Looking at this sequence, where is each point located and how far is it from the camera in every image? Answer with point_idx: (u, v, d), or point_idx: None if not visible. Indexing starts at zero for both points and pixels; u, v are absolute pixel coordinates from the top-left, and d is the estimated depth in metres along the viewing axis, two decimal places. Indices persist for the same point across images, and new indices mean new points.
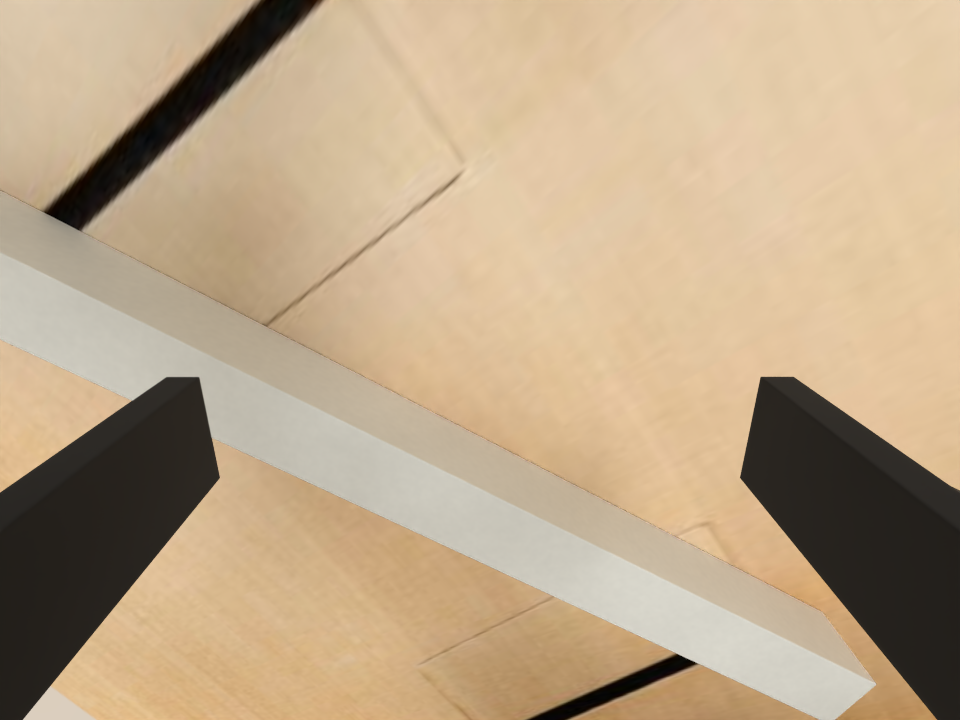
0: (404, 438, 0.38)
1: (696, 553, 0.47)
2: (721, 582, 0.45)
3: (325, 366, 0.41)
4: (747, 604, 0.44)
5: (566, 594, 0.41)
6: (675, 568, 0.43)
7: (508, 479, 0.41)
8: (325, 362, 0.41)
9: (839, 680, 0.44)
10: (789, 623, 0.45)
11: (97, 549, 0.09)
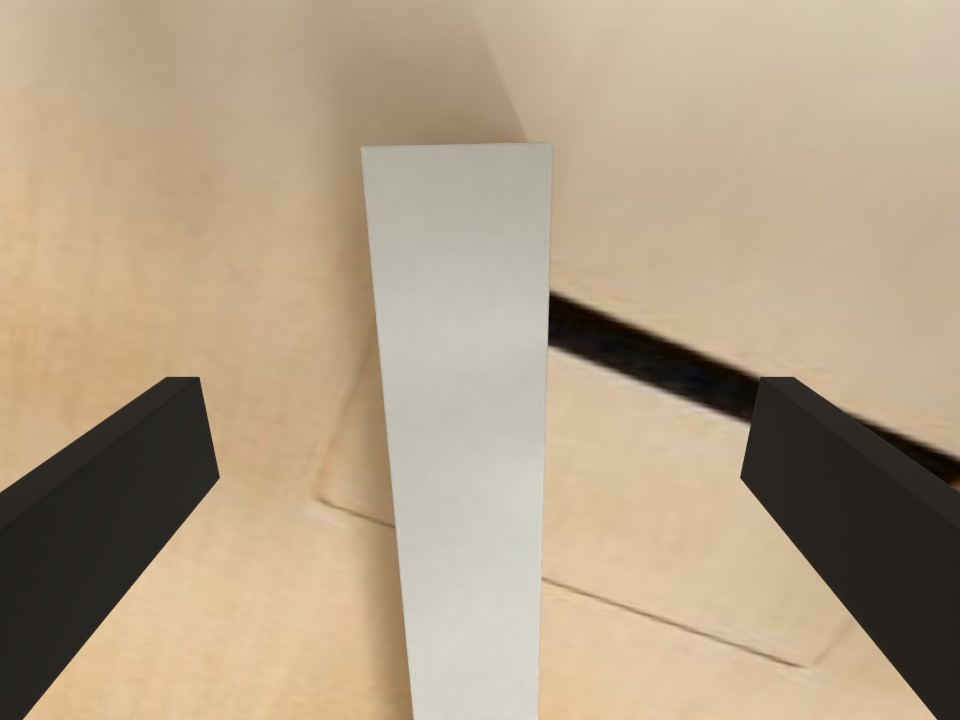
0: None
1: None
2: None
3: None
4: None
5: None
6: None
7: None
8: None
9: None
10: None
11: (97, 549, 0.09)
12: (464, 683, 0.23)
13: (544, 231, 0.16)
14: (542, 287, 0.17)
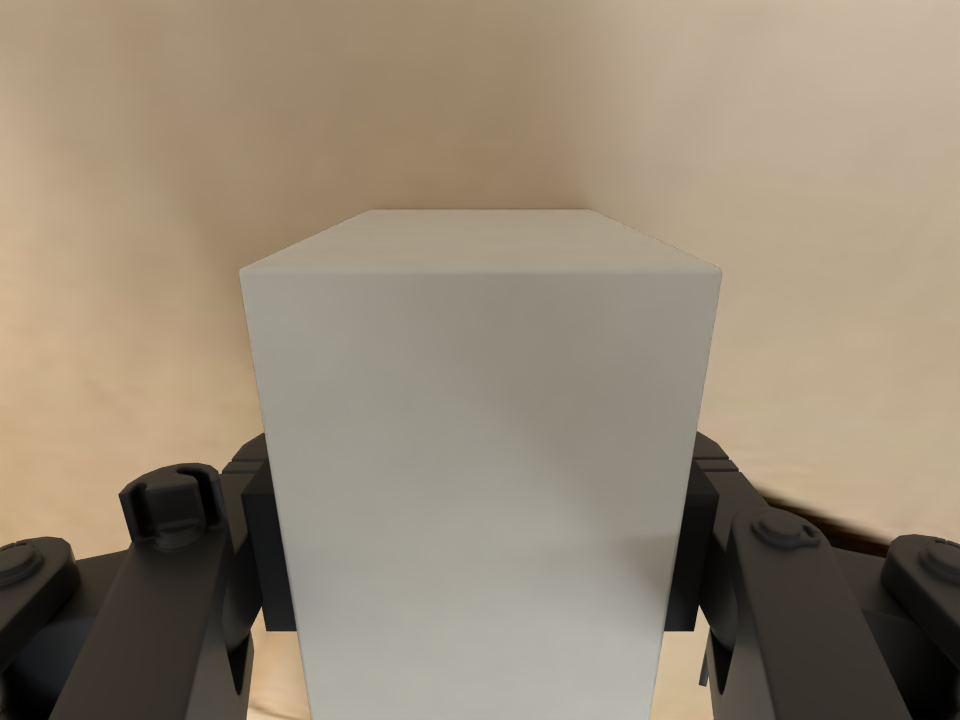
0: None
1: None
2: None
3: None
4: None
5: None
6: None
7: None
8: None
9: None
10: None
11: None
12: None
13: (678, 459, 0.07)
14: (661, 565, 0.08)
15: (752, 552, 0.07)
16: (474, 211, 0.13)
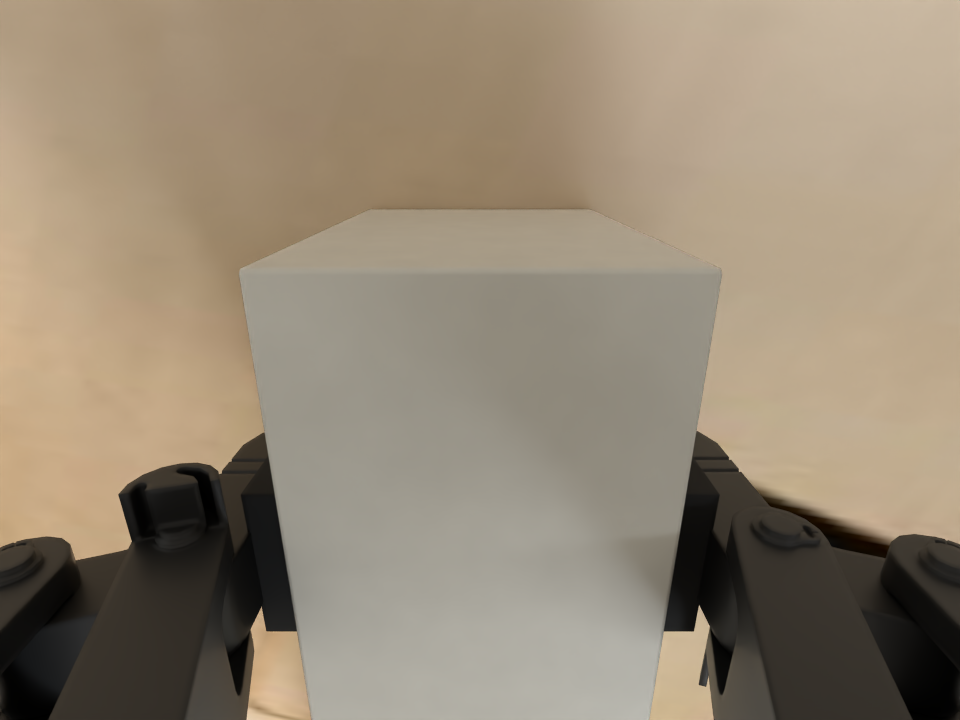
0: None
1: None
2: None
3: None
4: None
5: None
6: None
7: None
8: None
9: None
10: None
11: None
12: None
13: (679, 459, 0.07)
14: (661, 564, 0.08)
15: (753, 552, 0.07)
16: (474, 211, 0.13)
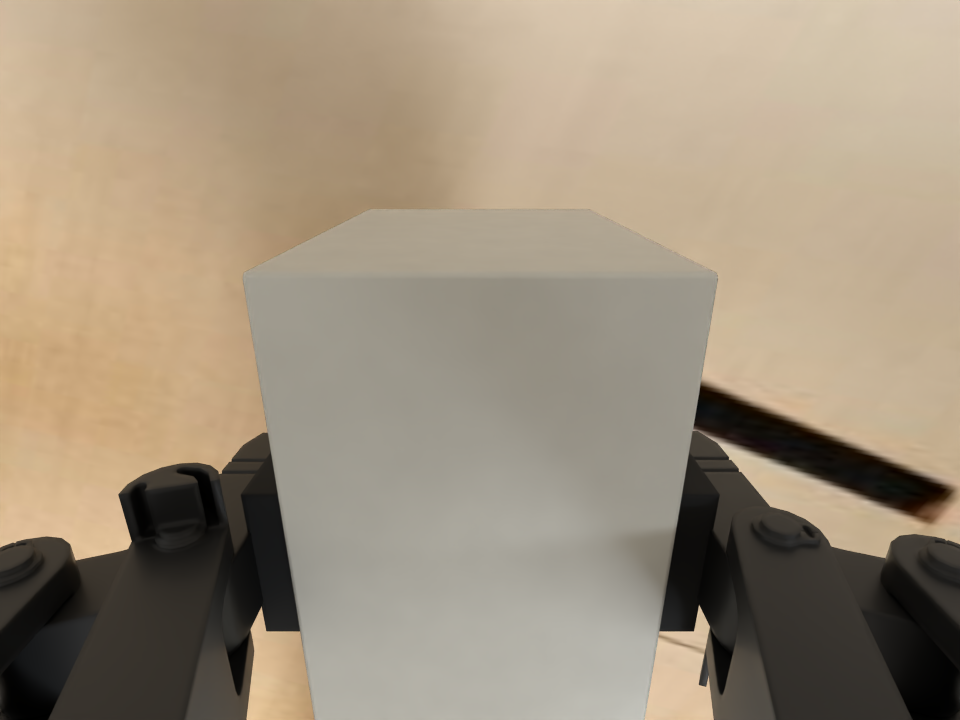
0: None
1: None
2: None
3: None
4: None
5: None
6: None
7: None
8: None
9: None
10: None
11: None
12: None
13: (676, 459, 0.07)
14: (657, 562, 0.08)
15: (754, 552, 0.07)
16: (474, 211, 0.13)
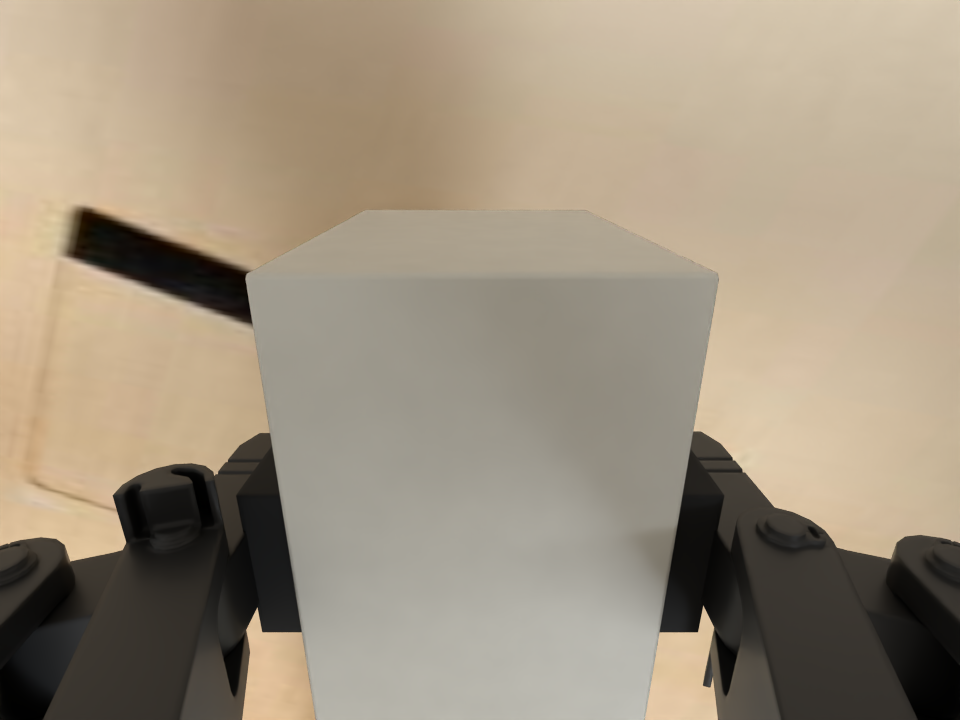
0: None
1: None
2: None
3: None
4: None
5: None
6: None
7: None
8: None
9: None
10: None
11: None
12: None
13: (676, 458, 0.07)
14: (658, 560, 0.08)
15: (758, 554, 0.07)
16: (470, 212, 0.13)
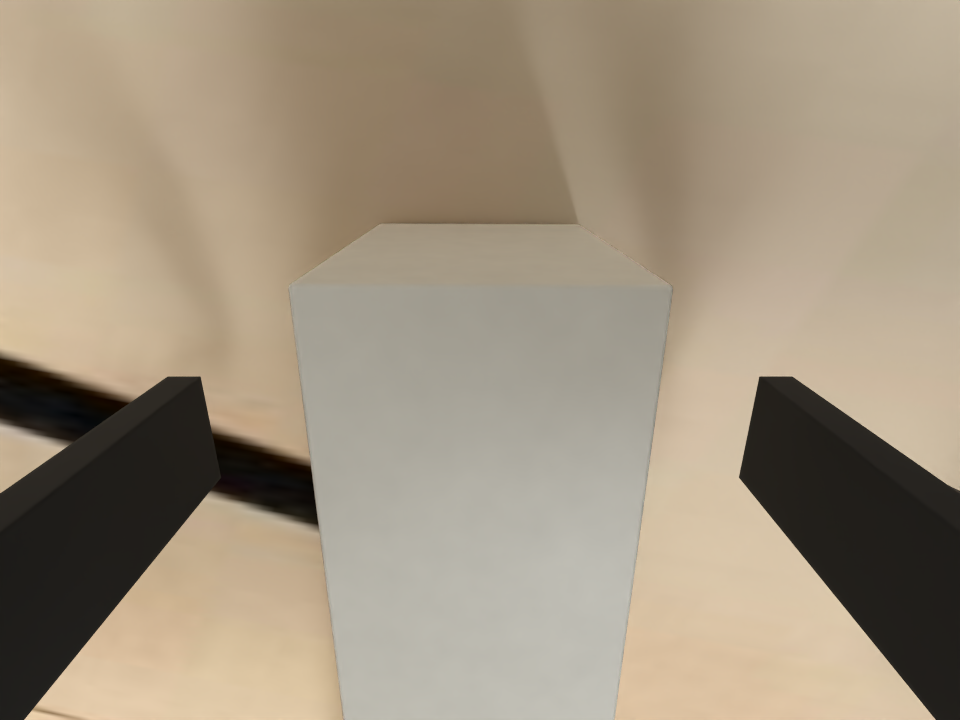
0: None
1: None
2: None
3: None
4: None
5: None
6: None
7: None
8: None
9: None
10: None
11: (99, 548, 0.09)
12: None
13: (642, 439, 0.09)
14: (629, 527, 0.09)
15: None
16: (474, 226, 0.14)
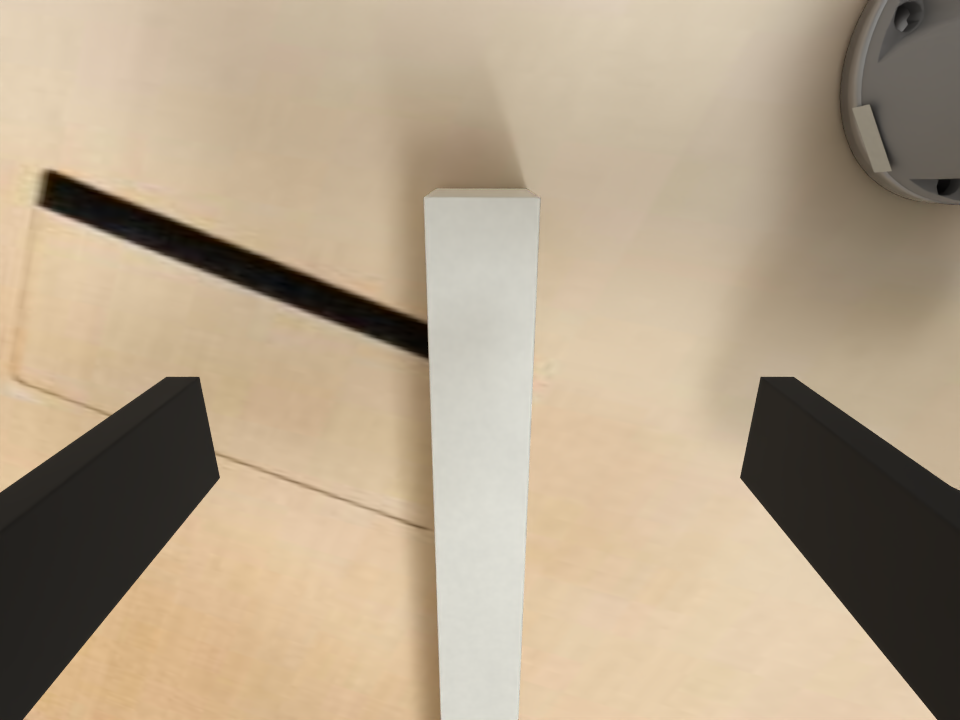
0: None
1: None
2: None
3: None
4: None
5: None
6: None
7: None
8: None
9: None
10: None
11: (97, 549, 0.09)
12: (473, 560, 0.33)
13: (534, 250, 0.26)
14: (532, 284, 0.27)
15: None
16: (479, 188, 0.32)
